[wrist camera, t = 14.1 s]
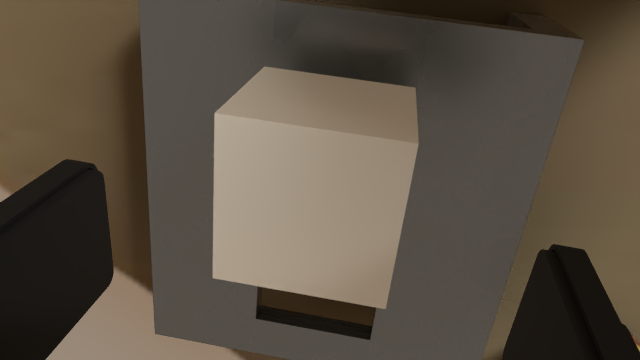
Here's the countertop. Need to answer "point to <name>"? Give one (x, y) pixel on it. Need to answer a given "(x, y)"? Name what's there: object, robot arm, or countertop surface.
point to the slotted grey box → (427, 180)
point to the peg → (313, 184)
